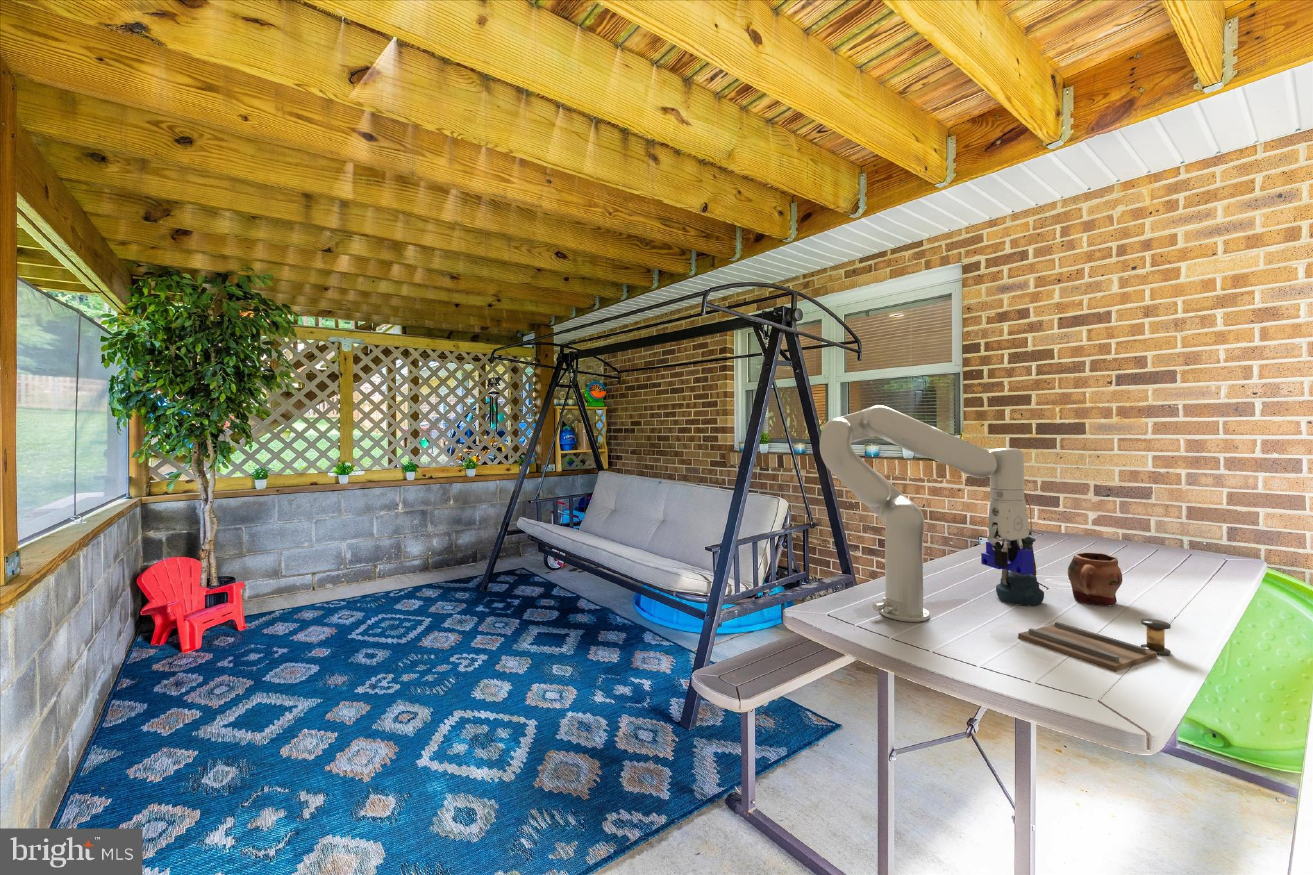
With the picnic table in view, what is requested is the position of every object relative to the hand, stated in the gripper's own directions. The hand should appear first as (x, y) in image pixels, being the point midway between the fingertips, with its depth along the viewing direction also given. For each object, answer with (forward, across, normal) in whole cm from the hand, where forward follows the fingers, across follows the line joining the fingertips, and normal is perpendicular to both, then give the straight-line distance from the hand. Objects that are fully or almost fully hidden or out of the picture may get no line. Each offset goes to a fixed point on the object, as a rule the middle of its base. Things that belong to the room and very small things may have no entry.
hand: (1007, 563), depth 141 cm
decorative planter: (+16, +37, -2) cm, 40 cm away
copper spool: (+16, +11, -26) cm, 32 cm away
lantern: (+16, +21, +10) cm, 28 cm away
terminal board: (+16, -1, -18) cm, 24 cm away
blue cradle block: (+2, 0, 0) cm, 2 cm away
